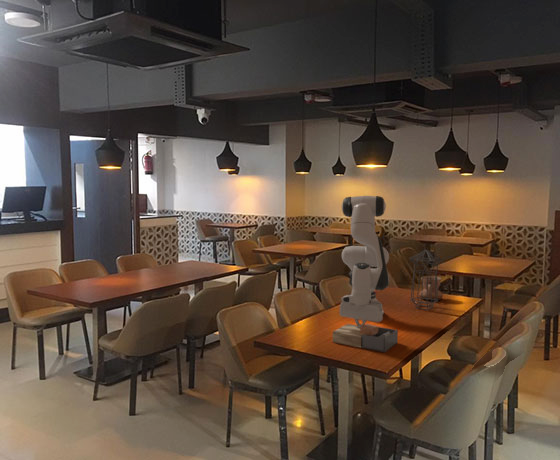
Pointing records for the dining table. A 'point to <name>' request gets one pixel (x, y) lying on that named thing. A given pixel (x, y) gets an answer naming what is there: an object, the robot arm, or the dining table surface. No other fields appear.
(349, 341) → the board
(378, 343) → the tray
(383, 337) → the blue-grey tile
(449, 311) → the dining table surface
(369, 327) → the terracotta tile
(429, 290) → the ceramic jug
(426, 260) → the geometric lantern
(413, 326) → the dining table surface
